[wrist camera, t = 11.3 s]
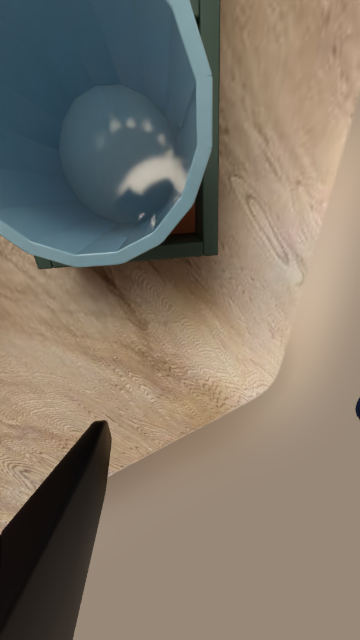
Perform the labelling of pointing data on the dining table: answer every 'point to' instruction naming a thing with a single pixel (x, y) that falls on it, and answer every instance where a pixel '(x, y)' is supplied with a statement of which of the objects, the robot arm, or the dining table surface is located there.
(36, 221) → the blue cup
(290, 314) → the dining table surface
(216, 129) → the cup rack
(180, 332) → the dining table surface
